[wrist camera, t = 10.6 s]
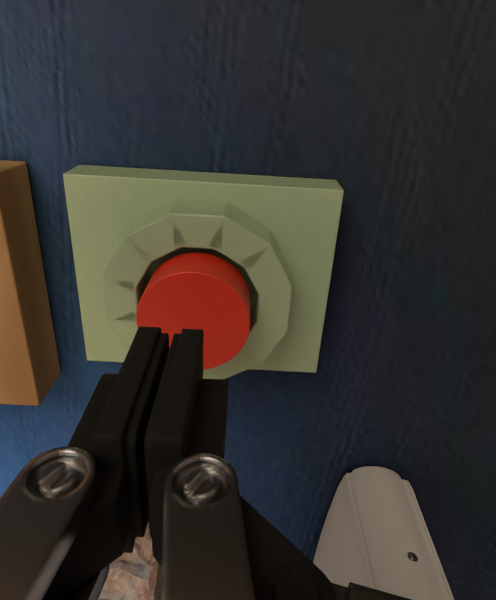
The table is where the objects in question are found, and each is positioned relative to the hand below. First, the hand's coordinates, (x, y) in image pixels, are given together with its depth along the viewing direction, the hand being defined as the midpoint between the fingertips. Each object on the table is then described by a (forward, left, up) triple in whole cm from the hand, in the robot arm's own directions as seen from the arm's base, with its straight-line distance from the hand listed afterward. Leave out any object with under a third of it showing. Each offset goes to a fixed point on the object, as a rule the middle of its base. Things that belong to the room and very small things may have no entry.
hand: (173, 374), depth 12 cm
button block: (0, 0, -8) cm, 8 cm away
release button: (0, 0, -5) cm, 5 cm away
